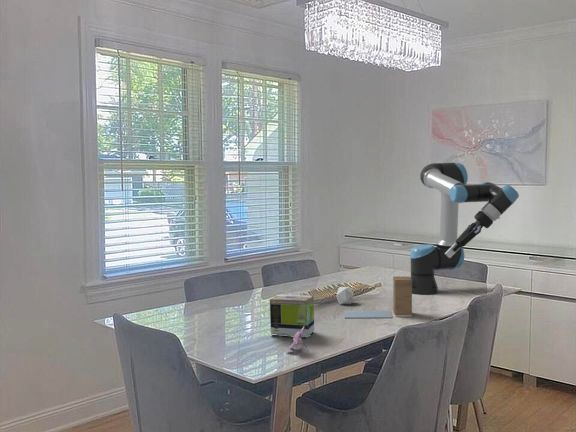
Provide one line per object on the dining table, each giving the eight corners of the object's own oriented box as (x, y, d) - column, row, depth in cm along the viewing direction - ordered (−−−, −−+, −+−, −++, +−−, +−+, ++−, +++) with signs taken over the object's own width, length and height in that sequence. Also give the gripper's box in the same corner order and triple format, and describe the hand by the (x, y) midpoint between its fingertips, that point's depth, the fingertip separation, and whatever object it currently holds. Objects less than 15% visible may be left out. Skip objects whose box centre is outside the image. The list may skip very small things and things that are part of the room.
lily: (300, 346, 219) (287, 326, 218) (323, 339, 213) (310, 318, 212) (287, 364, 210) (274, 343, 209) (310, 357, 204) (297, 336, 203)
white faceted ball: (348, 308, 274) (358, 290, 276) (332, 298, 275) (342, 280, 278) (347, 310, 282) (356, 292, 284) (331, 301, 283) (341, 283, 286)
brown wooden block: (393, 312, 262) (393, 276, 260) (409, 312, 261) (409, 276, 260) (395, 316, 255) (395, 279, 253) (411, 316, 254) (411, 279, 253)
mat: (343, 311, 265) (343, 310, 265) (389, 311, 264) (389, 310, 264) (344, 318, 253) (344, 317, 253) (392, 318, 252) (392, 317, 252)
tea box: (314, 332, 234) (314, 294, 233) (307, 339, 225) (306, 300, 223) (278, 329, 239) (278, 293, 238) (270, 336, 230) (269, 298, 228)
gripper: (497, 223, 245) (456, 264, 248) (489, 221, 258) (450, 259, 261) (484, 210, 245) (443, 251, 248) (476, 209, 258) (438, 247, 261)
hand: (447, 255), depth 254 cm, fingers closed
